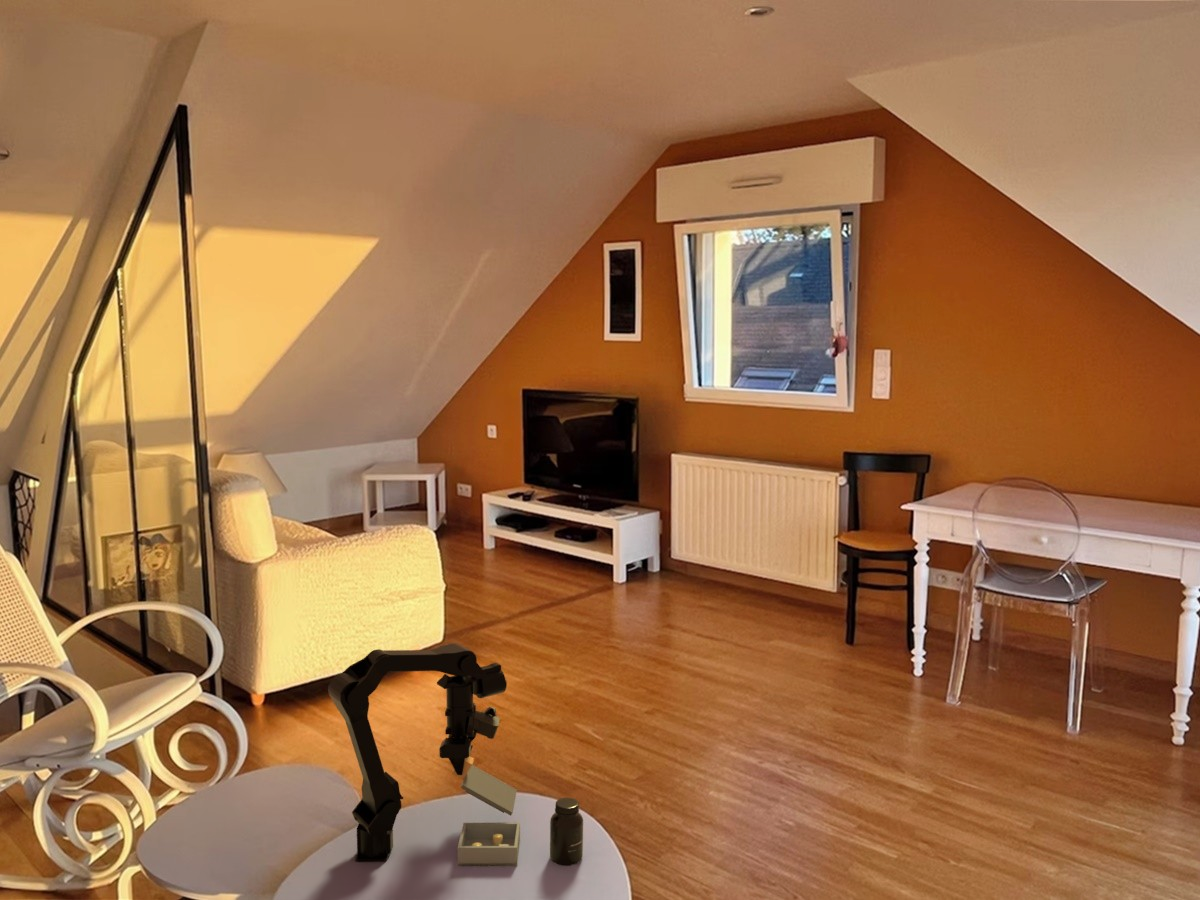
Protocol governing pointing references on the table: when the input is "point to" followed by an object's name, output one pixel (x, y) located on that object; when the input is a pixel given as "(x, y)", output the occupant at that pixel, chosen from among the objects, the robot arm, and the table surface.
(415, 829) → the table surface
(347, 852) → the table surface
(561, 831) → the supplement bottle
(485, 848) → the tub
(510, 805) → the lid
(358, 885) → the table surface
